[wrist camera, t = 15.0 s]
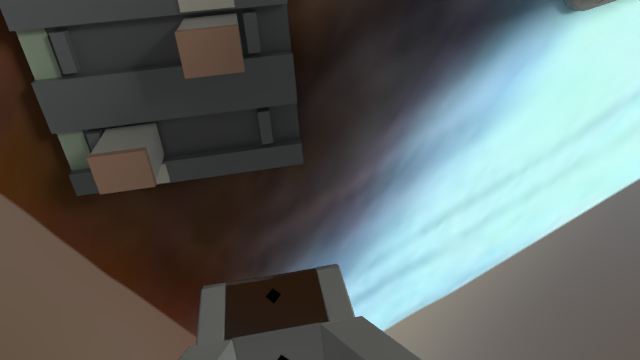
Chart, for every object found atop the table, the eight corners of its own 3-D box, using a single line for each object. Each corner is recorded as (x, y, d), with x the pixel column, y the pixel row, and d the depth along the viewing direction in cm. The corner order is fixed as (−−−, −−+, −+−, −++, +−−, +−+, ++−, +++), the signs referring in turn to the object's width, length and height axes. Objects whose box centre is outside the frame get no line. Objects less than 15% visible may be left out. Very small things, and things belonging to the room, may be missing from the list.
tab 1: (156, 121, 37) (144, 150, 32) (165, 154, 39) (155, 186, 34) (105, 128, 37) (86, 158, 32) (116, 161, 38) (100, 194, 34)
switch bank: (281, -30, 35) (285, -27, 33) (300, 152, 43) (304, 164, 41) (12, -5, 33) (-5, 0, 30) (85, 181, 41) (76, 196, 38)
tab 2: (237, 12, 34) (237, 25, 29) (243, 52, 36) (245, 71, 31) (182, 17, 34) (174, 32, 29) (191, 58, 35) (185, 78, 30)
